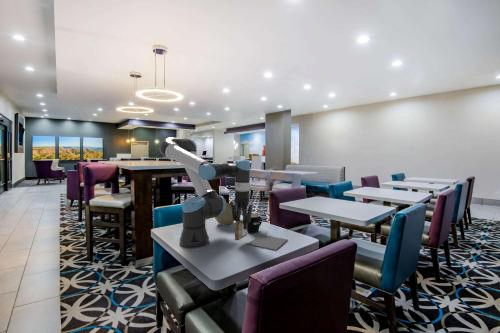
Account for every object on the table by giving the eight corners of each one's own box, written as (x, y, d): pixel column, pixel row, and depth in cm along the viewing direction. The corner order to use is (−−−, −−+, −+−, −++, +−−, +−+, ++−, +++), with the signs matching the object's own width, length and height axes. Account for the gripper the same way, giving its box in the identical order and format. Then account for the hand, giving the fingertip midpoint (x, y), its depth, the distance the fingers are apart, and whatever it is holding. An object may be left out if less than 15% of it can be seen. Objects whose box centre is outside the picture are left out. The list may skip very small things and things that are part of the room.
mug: (252, 235, 142) (252, 218, 141) (242, 231, 148) (242, 215, 148) (266, 230, 150) (266, 214, 150) (256, 227, 157) (256, 211, 156)
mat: (247, 244, 128) (247, 243, 128) (261, 235, 142) (261, 234, 142) (275, 250, 120) (275, 249, 120) (287, 240, 134) (287, 239, 134)
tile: (234, 239, 126) (235, 222, 125) (243, 234, 134) (244, 218, 133) (238, 240, 125) (238, 223, 124) (247, 235, 133) (247, 218, 132)
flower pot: (206, 223, 165) (206, 205, 164) (228, 218, 177) (228, 201, 177) (222, 229, 152) (222, 210, 151) (244, 224, 164) (244, 206, 163)
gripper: (226, 189, 128) (225, 233, 130) (251, 192, 120) (250, 239, 122) (233, 187, 134) (233, 229, 136) (258, 190, 127) (257, 235, 129)
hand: (241, 234), depth 129 cm, fingers closed on tile, 2 cm apart
